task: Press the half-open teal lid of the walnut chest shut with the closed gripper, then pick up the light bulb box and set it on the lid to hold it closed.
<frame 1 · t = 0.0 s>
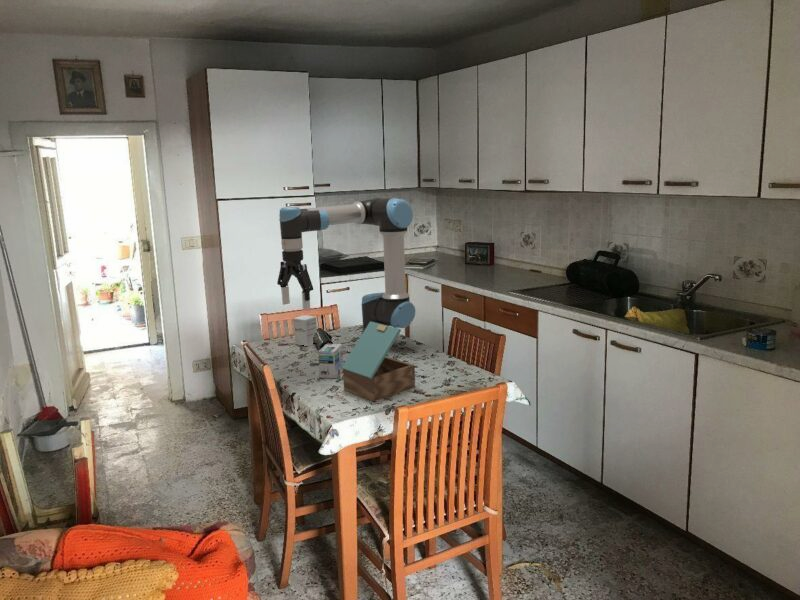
hand: (296, 306, 240), 28 cm above the table, tool pointing down, fingers open, 13 cm apart
light bulb box: (332, 374, 250), on the table
walnut chest: (379, 388, 232), on the table
chest lid: (370, 348, 227), point 16 cm above the table, hinge at 45.0°
supplement box: (306, 344, 292), on the table
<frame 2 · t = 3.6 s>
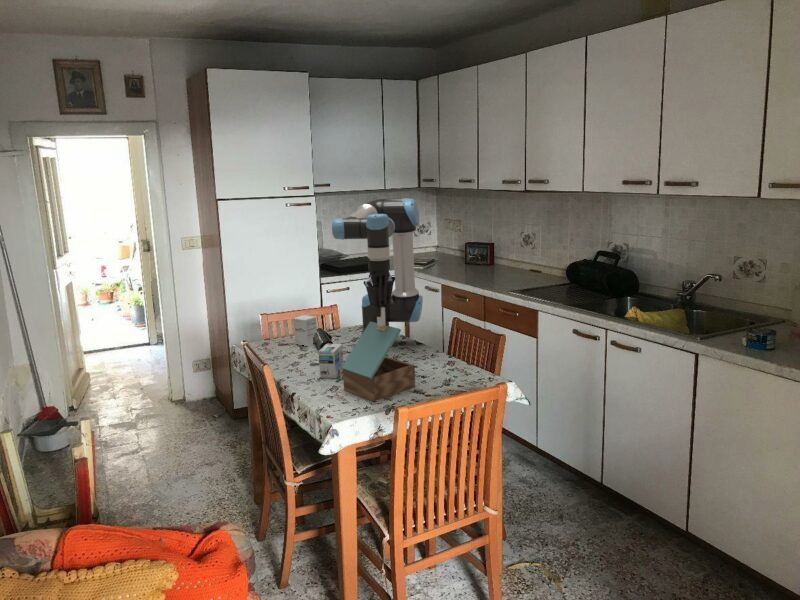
hand: (381, 325, 229), 23 cm above the table, tool pointing down, fingers closed
chest lid: (370, 348, 227), point 16 cm above the table, hinge at 45.0°, touching gripper
everything else where it was.
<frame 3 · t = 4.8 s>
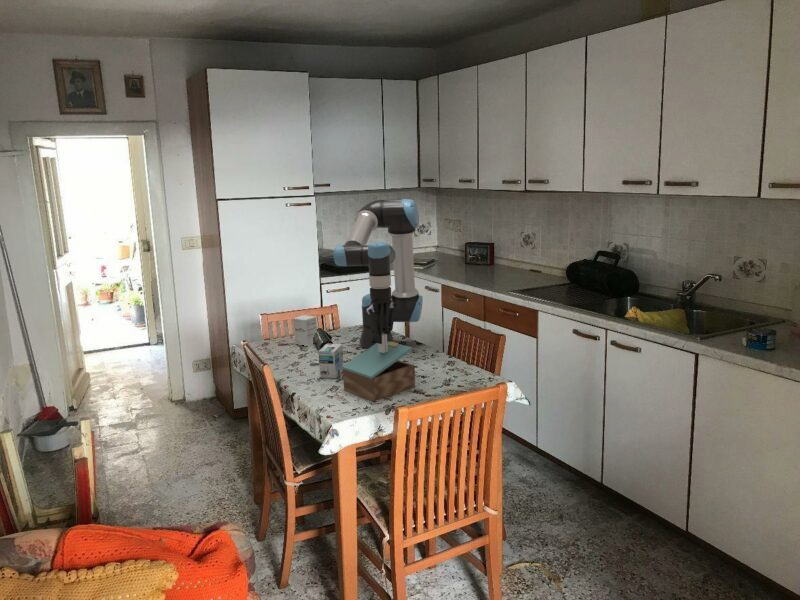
hand: (383, 351, 231), 13 cm above the table, tool pointing down, fingers closed
chest lid: (376, 357, 229), point 12 cm above the table, hinge at 17.2°, touching gripper
everything else where it was.
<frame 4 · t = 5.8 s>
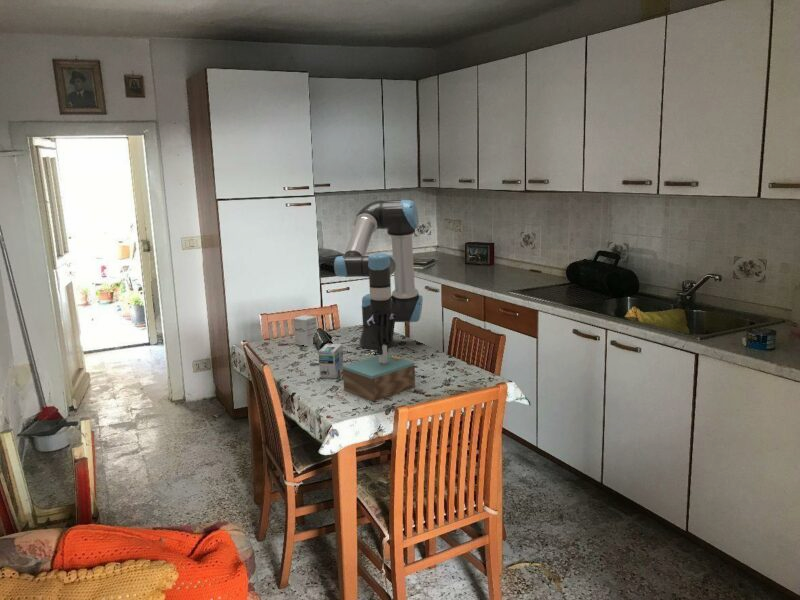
hand: (383, 362, 232), 9 cm above the table, tool pointing down, fingers closed
chest lid: (378, 364, 231), point 9 cm above the table, hinge at 0.0°, touching gripper, walnut chest
everything else where it was.
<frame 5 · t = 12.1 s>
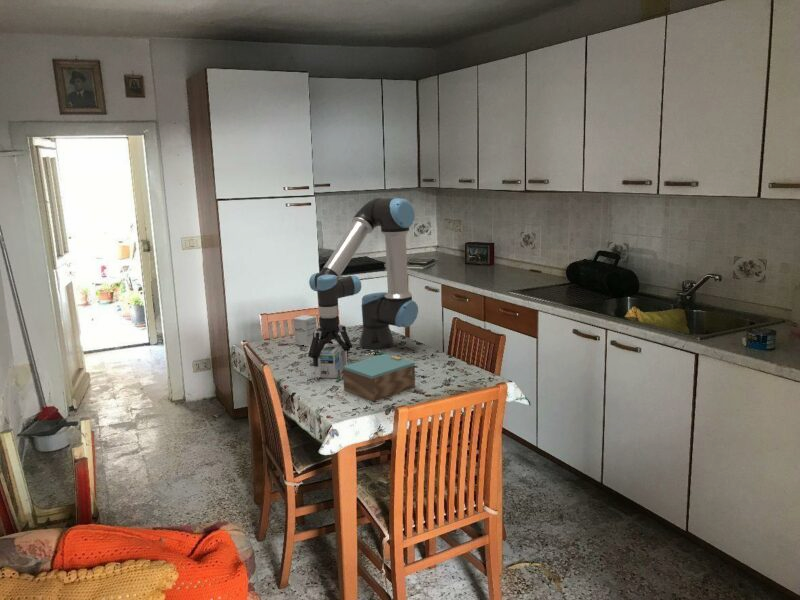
hand: (331, 370, 250), 1 cm above the table, tool pointing down, fingers closed on light bulb box, 12 cm apart
light bulb box: (332, 374, 250), on the table, touching gripper
chest lid: (378, 364, 231), point 9 cm above the table, hinge at 0.0°, touching walnut chest
everything else where it was.
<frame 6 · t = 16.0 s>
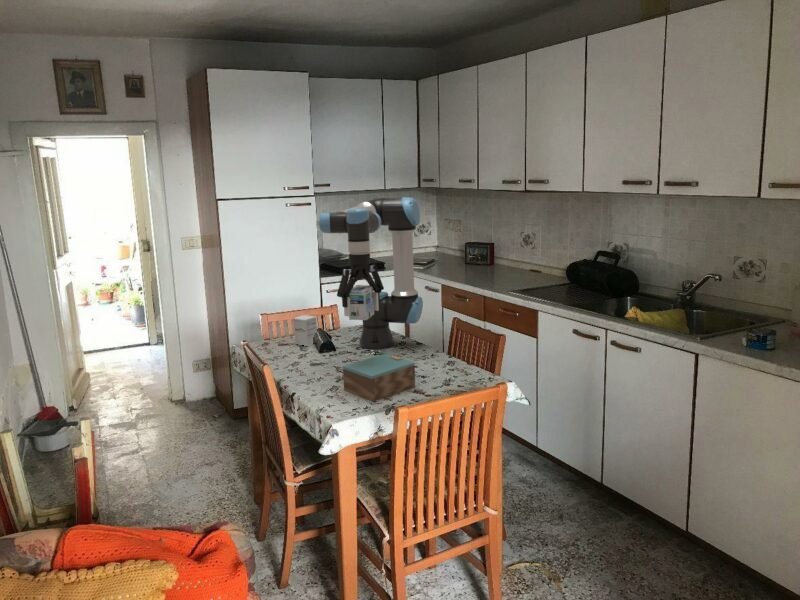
hand: (361, 313, 231), 27 cm above the table, tool pointing down, fingers closed on light bulb box, 12 cm apart
light bulb box: (361, 317, 232), point 25 cm above the table, touching gripper
everything else where it was.
when the fingers open (12 cm above the table, at t = 19.9 s): light bulb box drops 2 cm, resting on chest lid.
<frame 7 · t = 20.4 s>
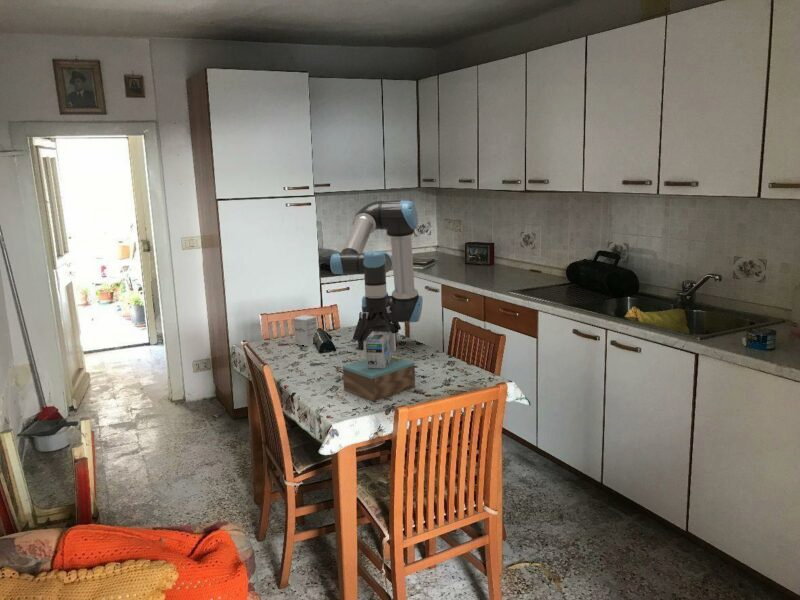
hand: (378, 354, 230), 13 cm above the table, tool pointing down, fingers open, 13 cm apart
light bulb box: (379, 364, 231), point 9 cm above the table, touching chest lid
chest lid: (378, 364, 231), point 9 cm above the table, hinge at 0.0°, touching light bulb box, walnut chest
everything else where it was.
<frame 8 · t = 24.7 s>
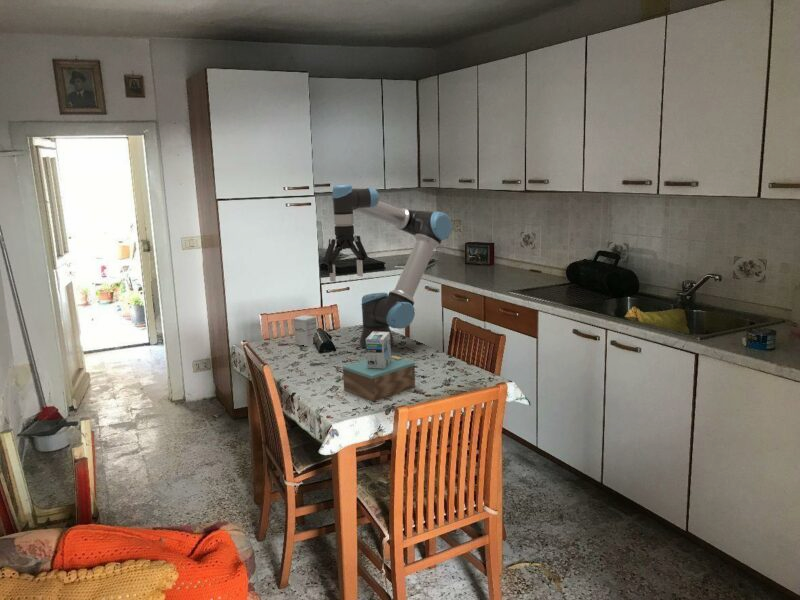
hand: (346, 278, 256), 35 cm above the table, tool pointing down, fingers open, 13 cm apart
nothing on the table moved.
at the end: chest lid at +0° (first picture: +45°); light bulb box inside the target area on the walnut chest (0.2 cm from its centre), point 8.8 cm above the walnut chest's base; light bulb box tilted 0° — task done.
